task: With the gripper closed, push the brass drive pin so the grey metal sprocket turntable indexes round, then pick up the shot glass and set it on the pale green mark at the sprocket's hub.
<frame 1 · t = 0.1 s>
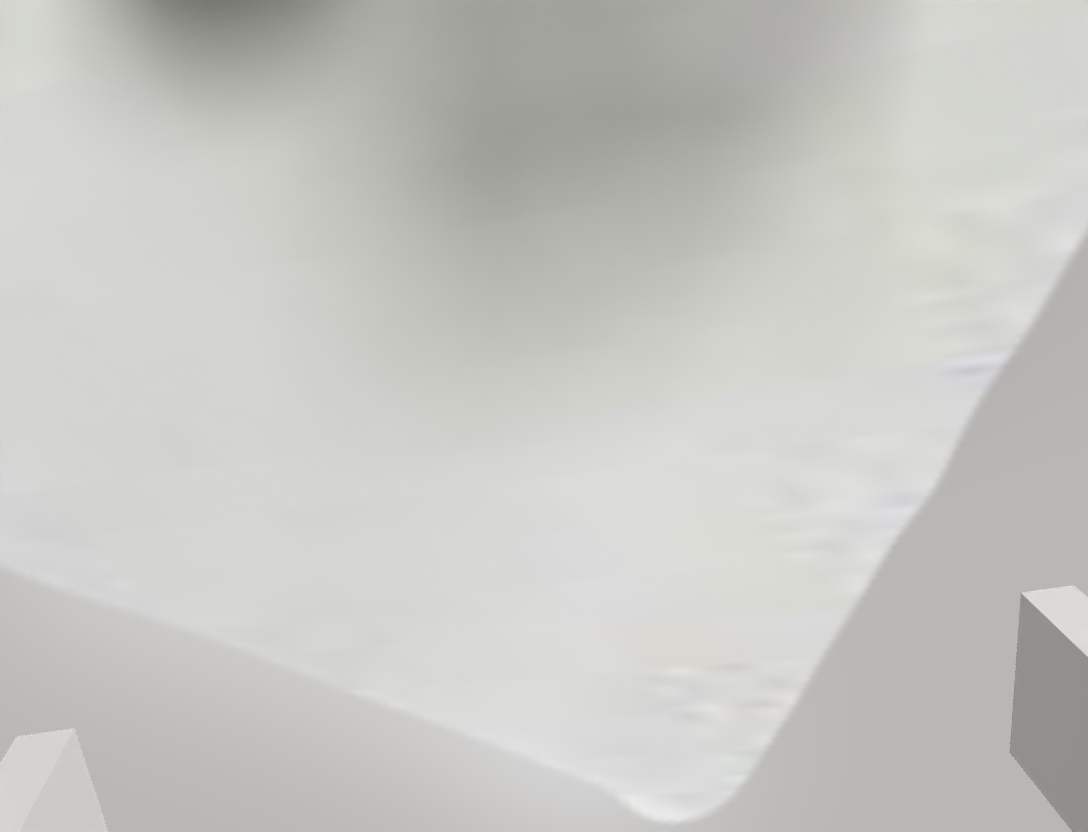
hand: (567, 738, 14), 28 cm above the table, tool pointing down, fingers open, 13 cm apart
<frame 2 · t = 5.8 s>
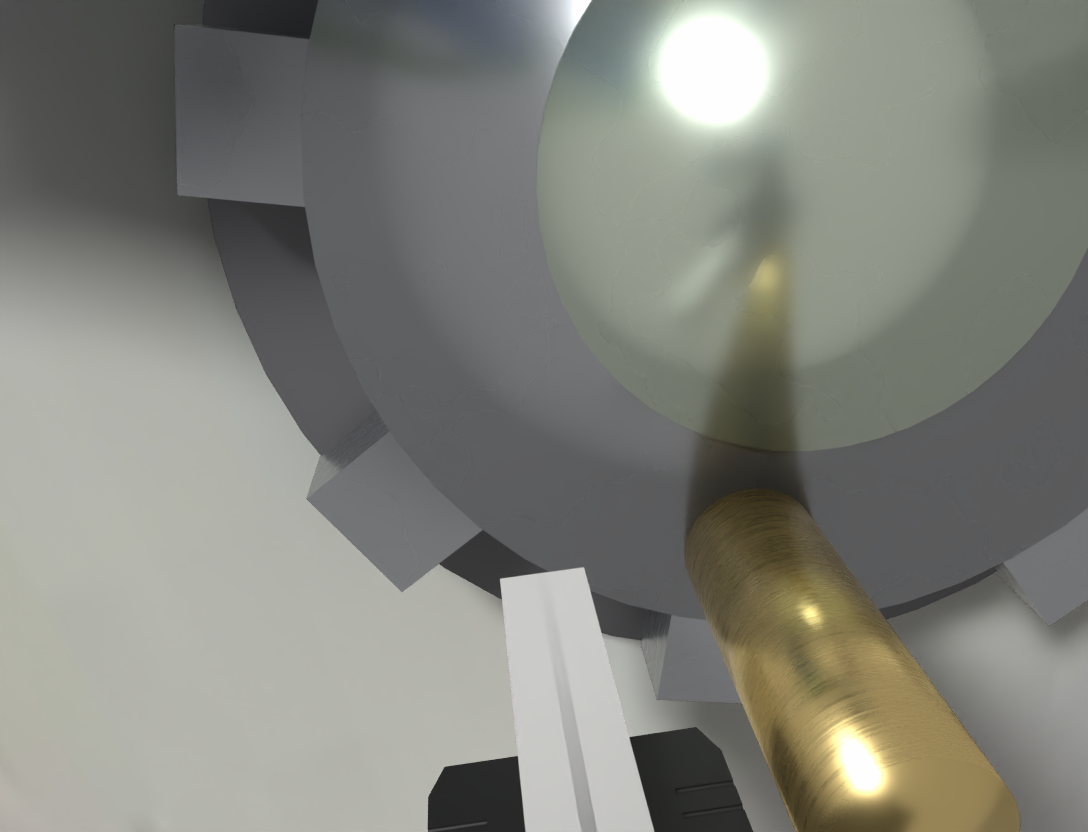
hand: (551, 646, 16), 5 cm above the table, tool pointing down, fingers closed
sprocket base: (765, 154, 19), on the table
sprocket: (888, 204, 13), point 6 cm above the table, hinge at 2.2°, touching gripper
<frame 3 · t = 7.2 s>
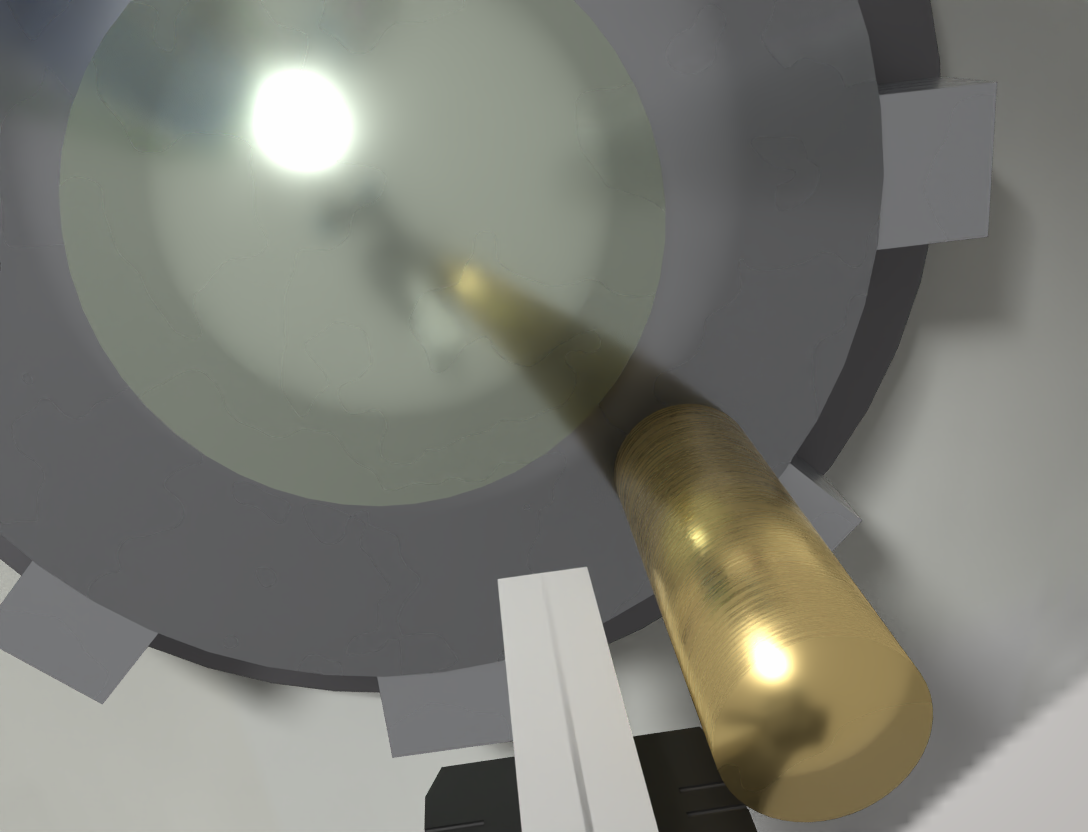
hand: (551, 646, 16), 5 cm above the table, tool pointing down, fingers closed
sprocket base: (385, 200, 19), on the table
sprocket: (358, 270, 13), point 6 cm above the table, hinge at 59.3°, touching gripper
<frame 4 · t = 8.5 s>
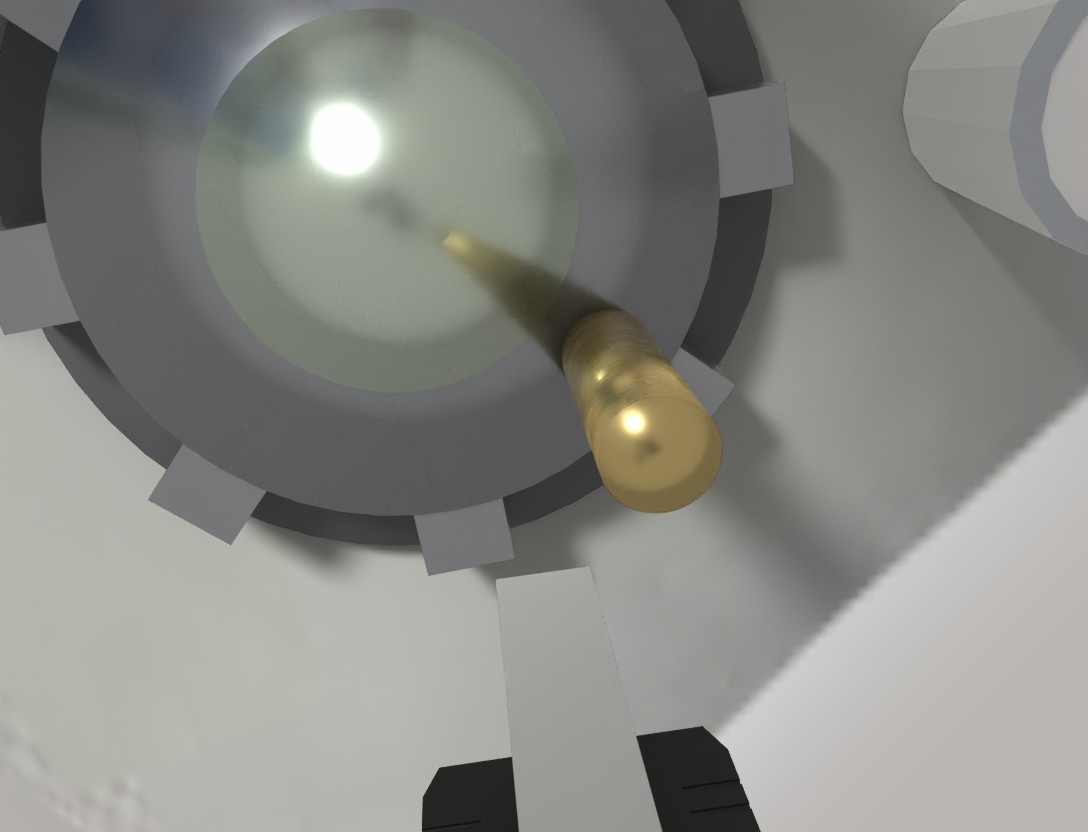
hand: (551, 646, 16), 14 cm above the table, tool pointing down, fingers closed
sprocket base: (398, 193, 27), on the table
shot glass: (998, 95, 28), on the table
sprocket: (383, 226, 22), point 6 cm above the table, hinge at 63.9°
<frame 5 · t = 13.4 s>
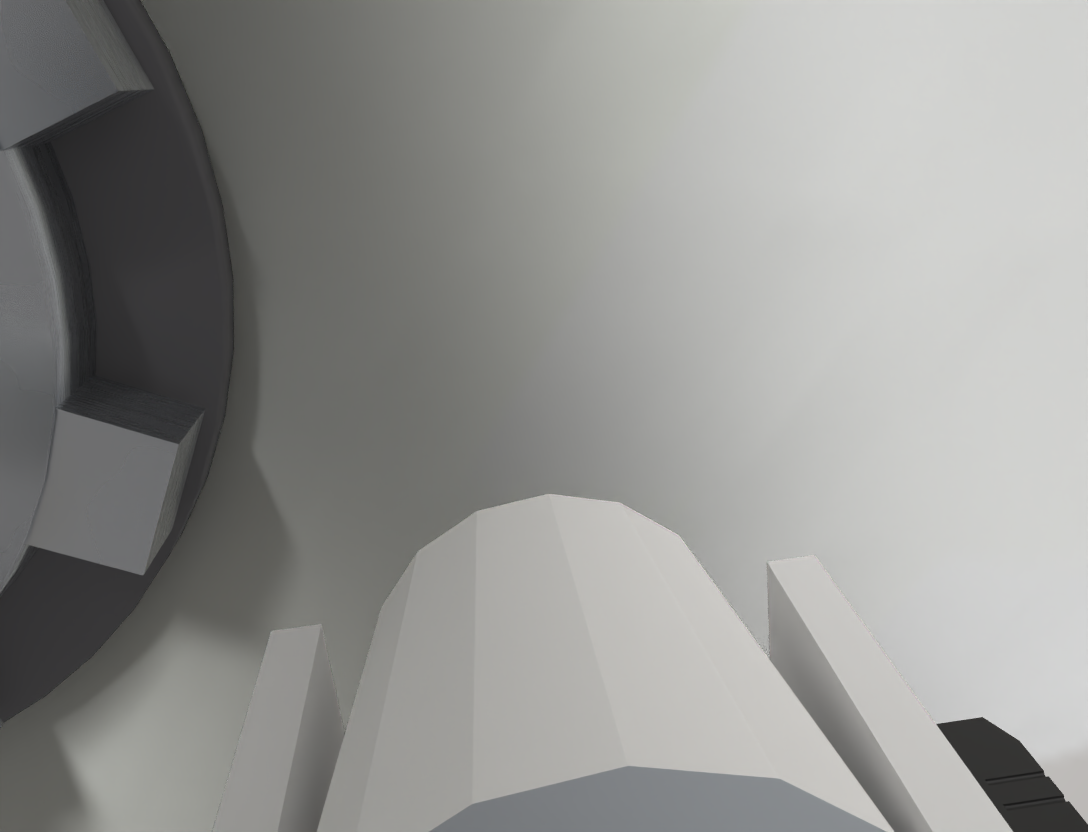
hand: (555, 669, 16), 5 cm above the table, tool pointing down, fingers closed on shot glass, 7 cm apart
shot glass: (550, 648, 16), point 4 cm above the table, touching gripper
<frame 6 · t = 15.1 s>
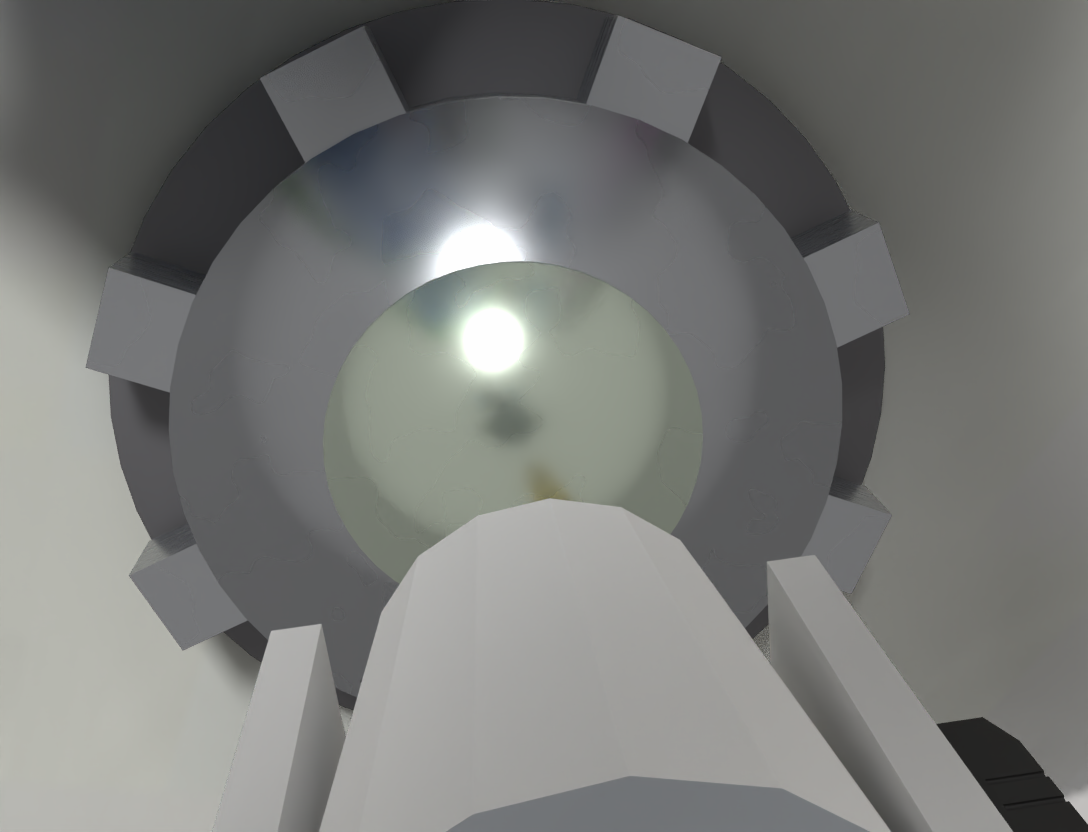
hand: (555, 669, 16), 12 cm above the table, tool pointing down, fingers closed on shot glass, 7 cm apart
sprocket base: (507, 401, 27), on the table
shot glass: (551, 653, 16), point 12 cm above the table, touching gripper
sprocket: (522, 491, 22), point 6 cm above the table, hinge at 63.9°
when the fingers open (4 cm above the table, at t = 16.9 s): shot glass stays where it is, resting on sprocket.
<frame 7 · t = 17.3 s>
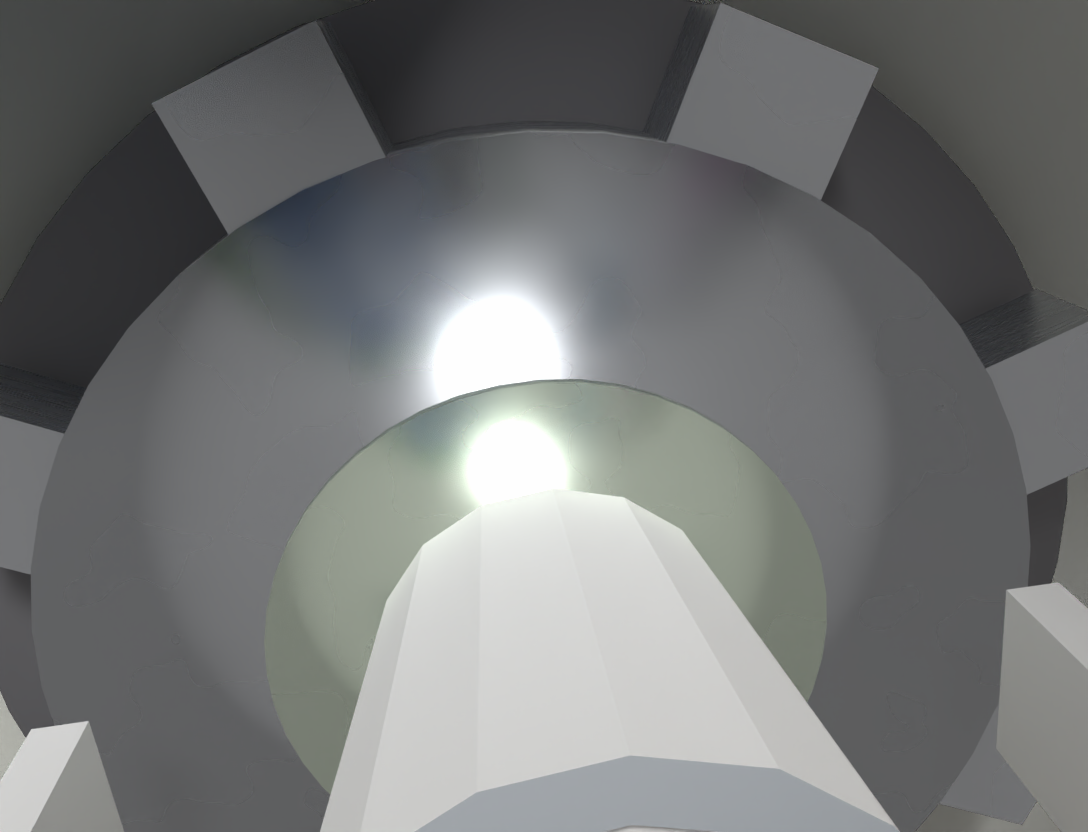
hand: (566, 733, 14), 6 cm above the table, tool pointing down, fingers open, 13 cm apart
sprocket base: (534, 547, 20), on the table
shot glass: (554, 641, 16), point 3 cm above the table, touching sprocket
sprocket: (568, 742, 14), point 6 cm above the table, hinge at 63.9°, touching shot glass
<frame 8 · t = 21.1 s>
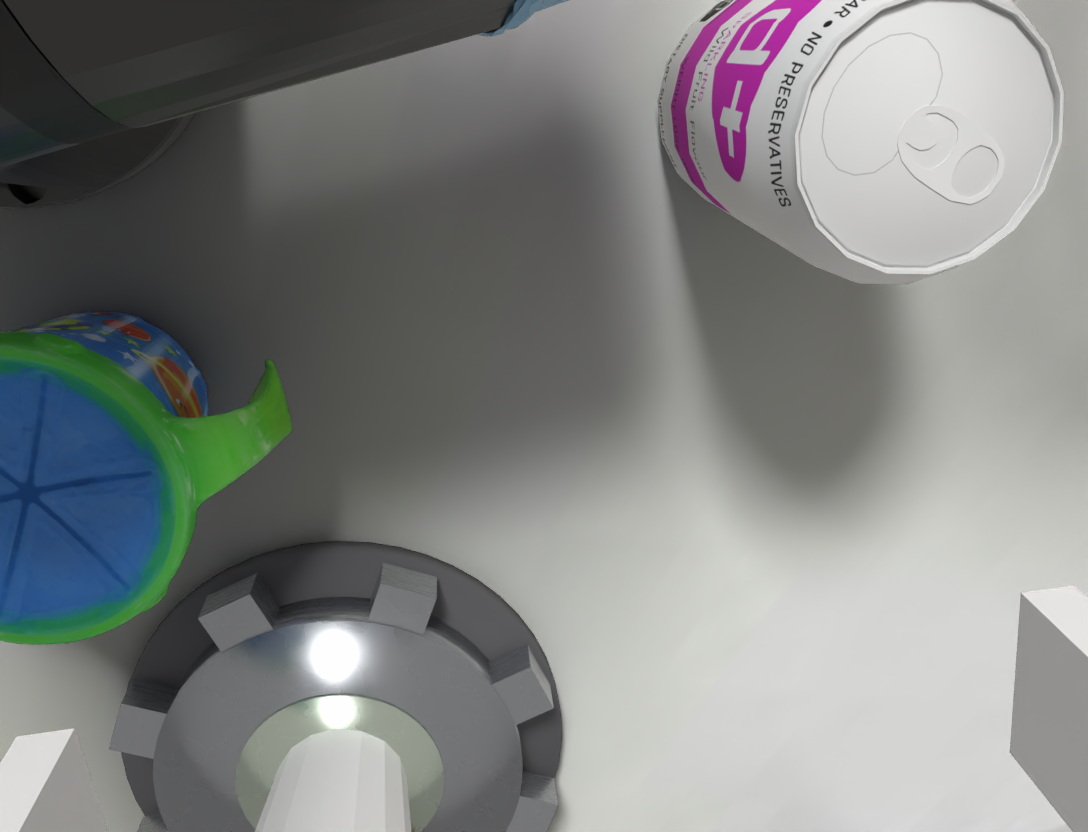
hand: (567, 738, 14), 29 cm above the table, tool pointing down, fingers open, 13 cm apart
sprocket base: (348, 731, 48), on the table
snack cup: (117, 395, 41), on the table
shot glass: (342, 779, 45), point 3 cm above the table, touching sprocket
supplement can: (756, 103, 40), on the table
sprocket: (335, 820, 42), point 6 cm above the table, hinge at 63.9°, touching shot glass
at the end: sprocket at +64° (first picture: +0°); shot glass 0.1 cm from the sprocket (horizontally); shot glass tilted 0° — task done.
